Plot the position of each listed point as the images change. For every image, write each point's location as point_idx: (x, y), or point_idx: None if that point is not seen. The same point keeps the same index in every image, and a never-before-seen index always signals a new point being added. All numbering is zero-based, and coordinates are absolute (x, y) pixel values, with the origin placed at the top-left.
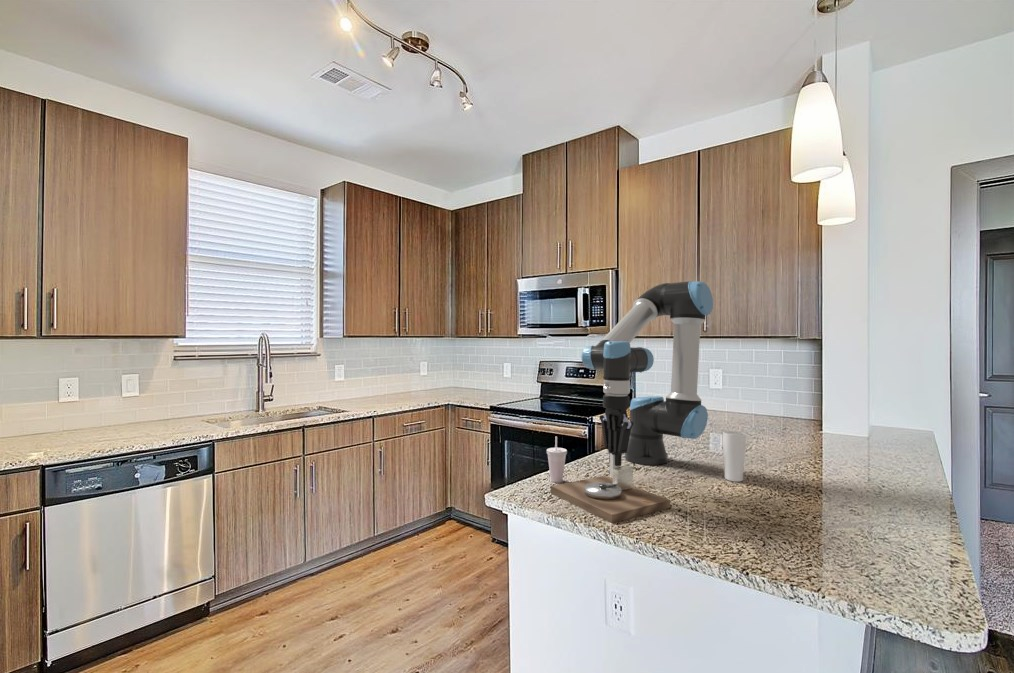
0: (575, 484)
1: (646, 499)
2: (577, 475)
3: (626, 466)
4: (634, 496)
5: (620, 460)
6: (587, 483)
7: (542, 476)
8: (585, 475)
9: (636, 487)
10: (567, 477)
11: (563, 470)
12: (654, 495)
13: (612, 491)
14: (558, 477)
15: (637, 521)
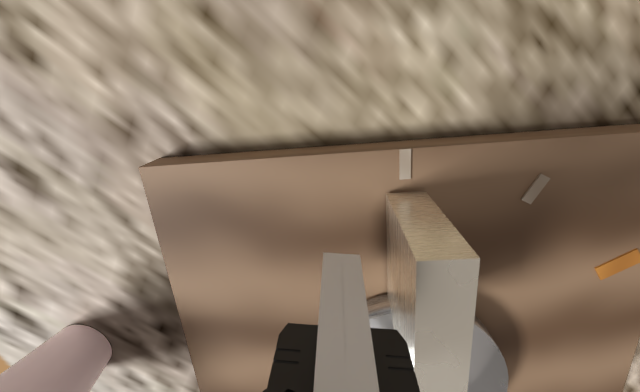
0: (234, 382)
1: (594, 243)
2: (15, 221)
3: (430, 294)
4: (520, 264)
5: (412, 380)
6: (241, 334)
7: (12, 361)
8: (20, 182)
9: (418, 151)
10: (43, 281)
11: (64, 376)
12: (587, 157)
13: (479, 384)
14: (98, 373)
15: (636, 356)
